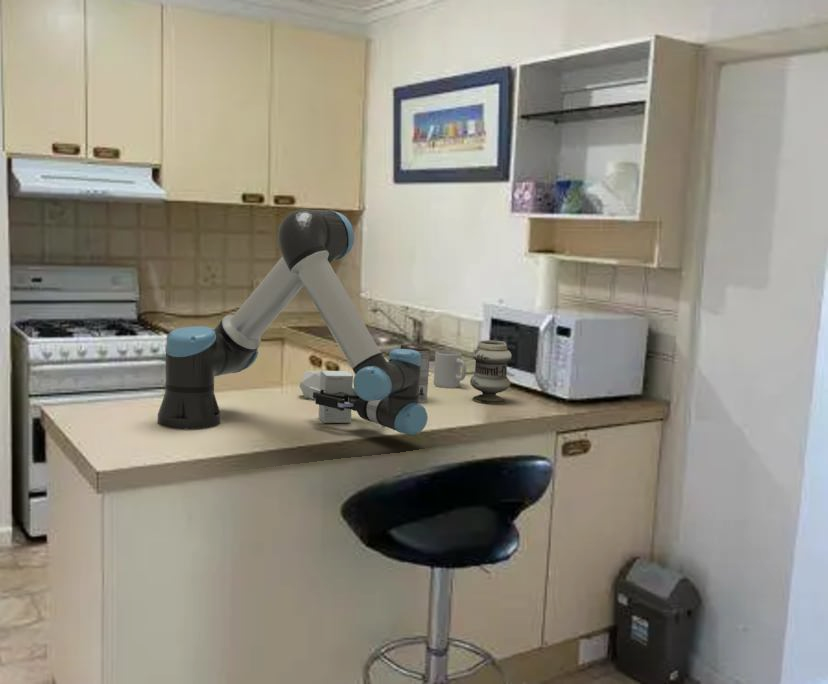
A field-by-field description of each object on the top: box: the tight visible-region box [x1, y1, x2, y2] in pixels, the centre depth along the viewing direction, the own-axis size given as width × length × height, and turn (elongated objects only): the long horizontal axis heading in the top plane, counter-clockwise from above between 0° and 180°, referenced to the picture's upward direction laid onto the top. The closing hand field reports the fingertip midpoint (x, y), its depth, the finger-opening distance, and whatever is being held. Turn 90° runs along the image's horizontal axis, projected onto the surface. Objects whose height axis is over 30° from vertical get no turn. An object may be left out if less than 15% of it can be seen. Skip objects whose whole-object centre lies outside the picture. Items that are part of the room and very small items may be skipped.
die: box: [298, 370, 322, 399], centre depth 257 cm, size 8×9×10 cm
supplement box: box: [318, 370, 354, 424], centre depth 229 cm, size 7×7×13 cm
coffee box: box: [399, 343, 431, 404], centre depth 261 cm, size 9×6×16 cm
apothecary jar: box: [469, 339, 512, 405], centre depth 266 cm, size 12×12×18 cm
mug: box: [433, 350, 467, 389], centre depth 285 cm, size 12×8×11 cm
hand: (326, 390), depth 232 cm, fingers closed on supplement box, 9 cm apart
